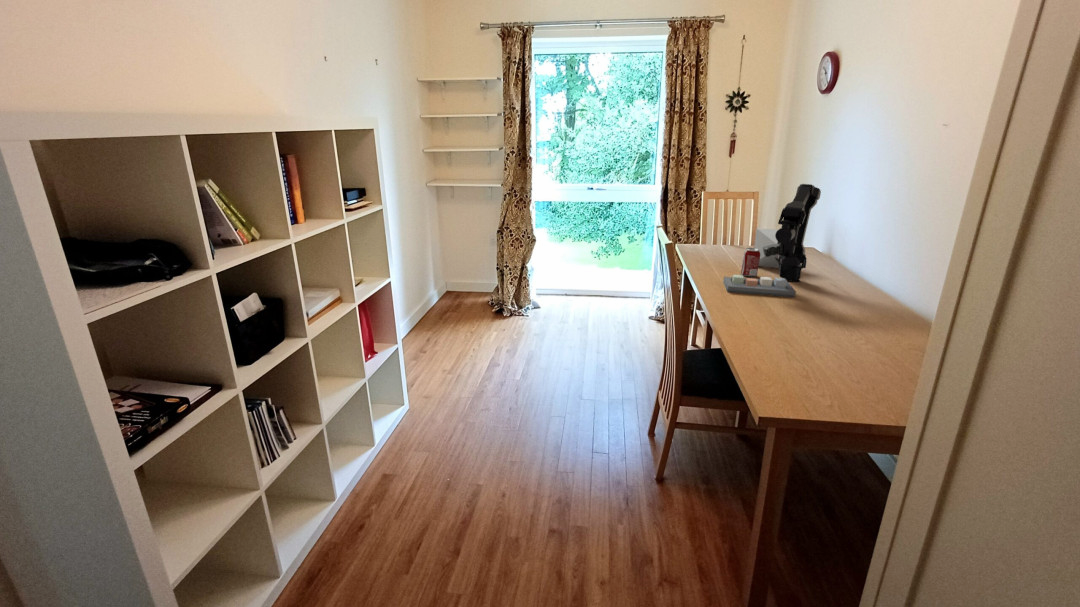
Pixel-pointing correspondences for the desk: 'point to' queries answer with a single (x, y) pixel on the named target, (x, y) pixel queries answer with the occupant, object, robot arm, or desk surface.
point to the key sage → (738, 279)
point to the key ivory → (766, 281)
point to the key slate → (780, 282)
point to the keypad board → (759, 288)
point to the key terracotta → (751, 282)
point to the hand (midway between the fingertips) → (781, 277)
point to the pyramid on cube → (765, 239)
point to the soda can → (750, 262)
